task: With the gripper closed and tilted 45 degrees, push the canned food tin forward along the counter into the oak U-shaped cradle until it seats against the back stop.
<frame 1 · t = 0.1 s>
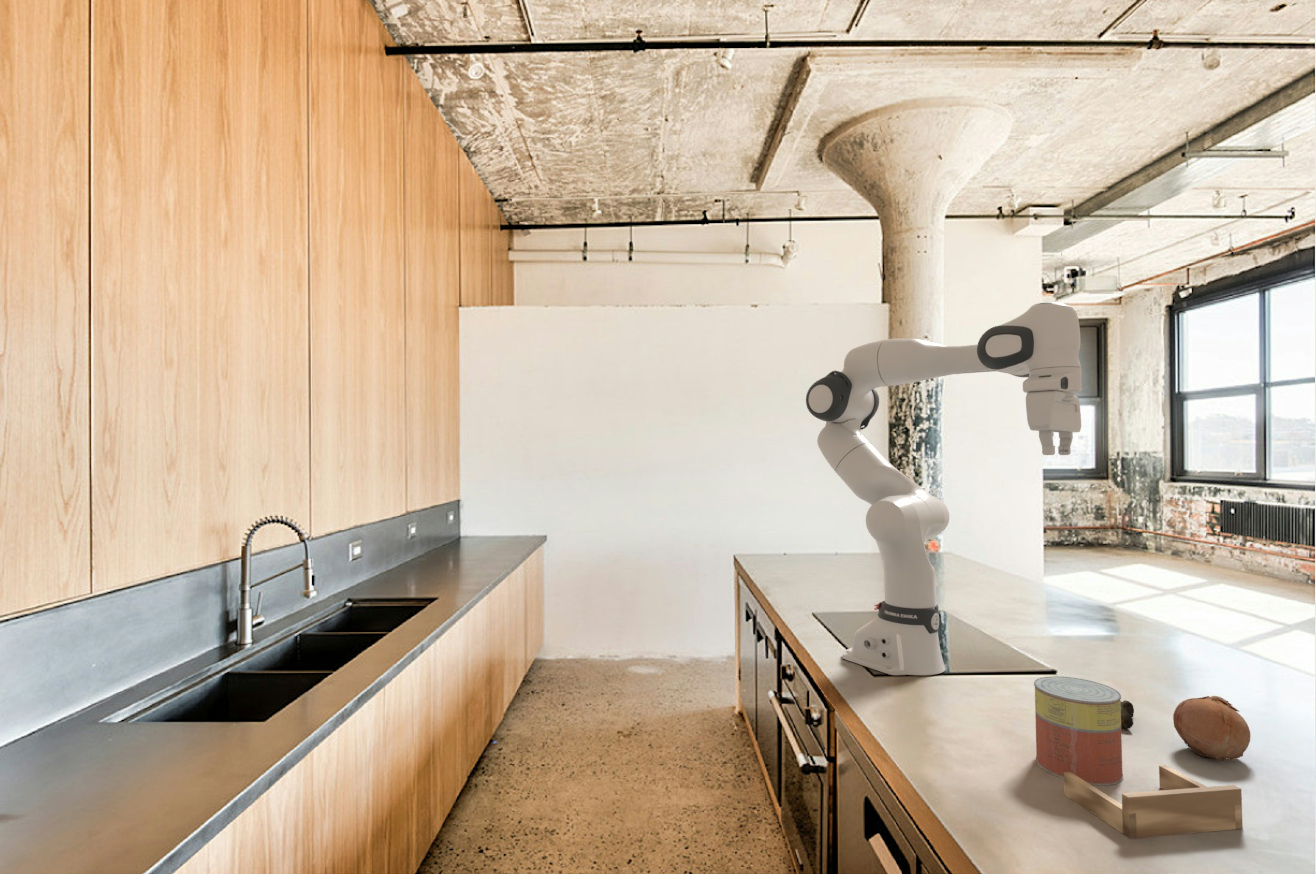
hand: (1056, 455, 129), 48 cm above the countertop, tool pointing down, fingers open, 8 cm apart
canned food: (1078, 769, 101), on the countertop
claw: (1089, 712, 125), on the countertop
cradle: (1133, 801, 91), on the countertop
onion: (1211, 756, 105), on the countertop
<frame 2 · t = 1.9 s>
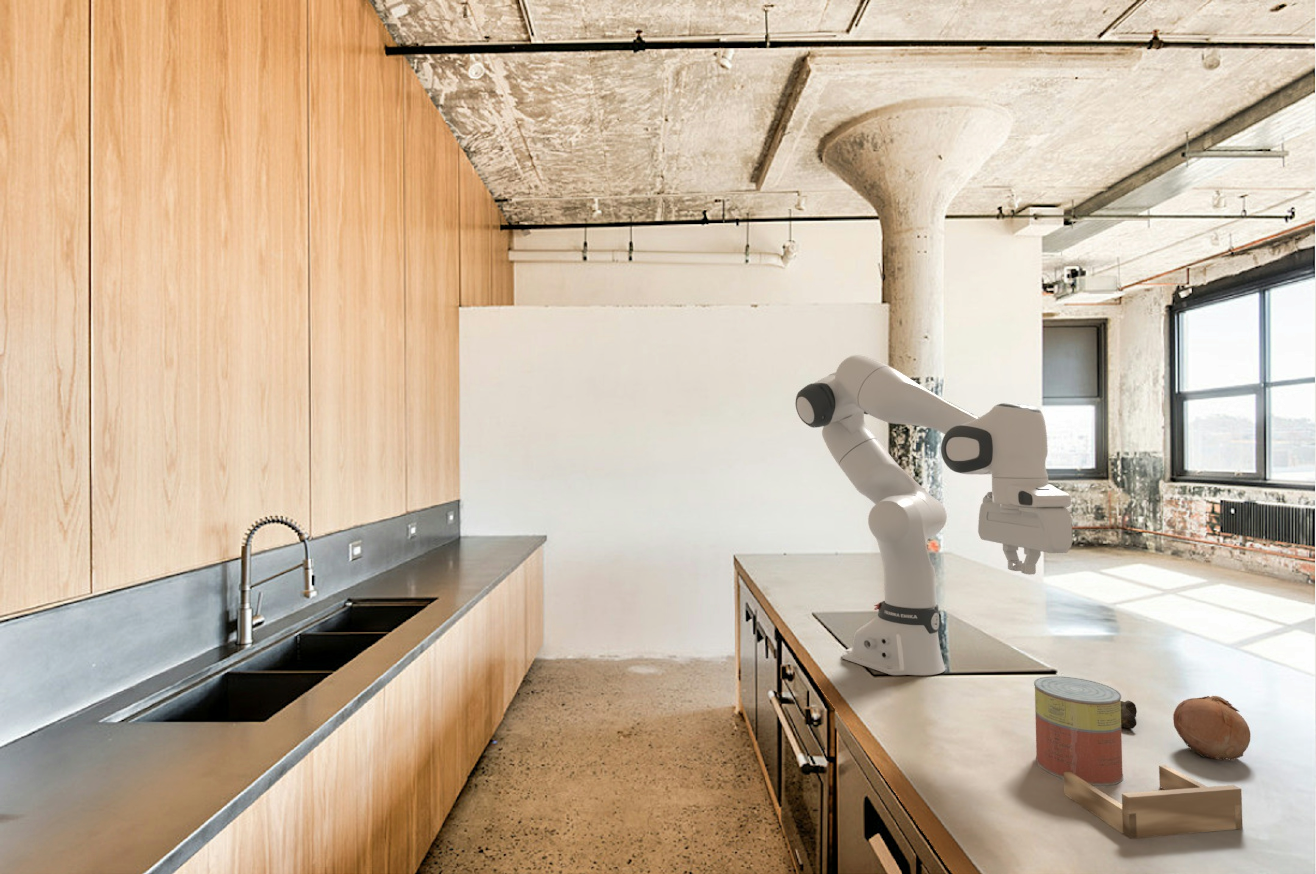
hand: (1021, 572, 117), 27 cm above the countertop, tool pointing down, fingers closed
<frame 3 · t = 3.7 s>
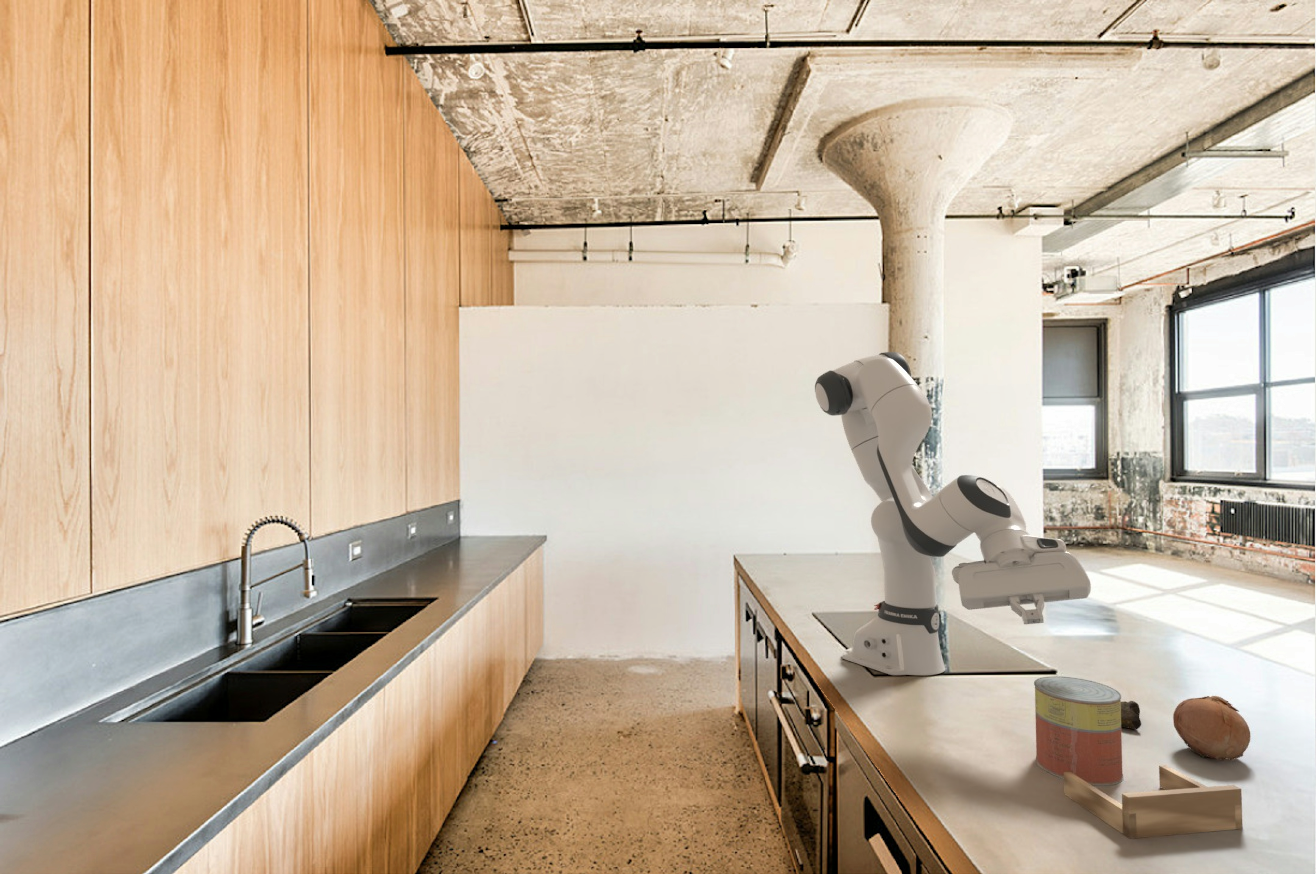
hand: (1033, 621, 109), 20 cm above the countertop, tool tilted 50°, fingers closed
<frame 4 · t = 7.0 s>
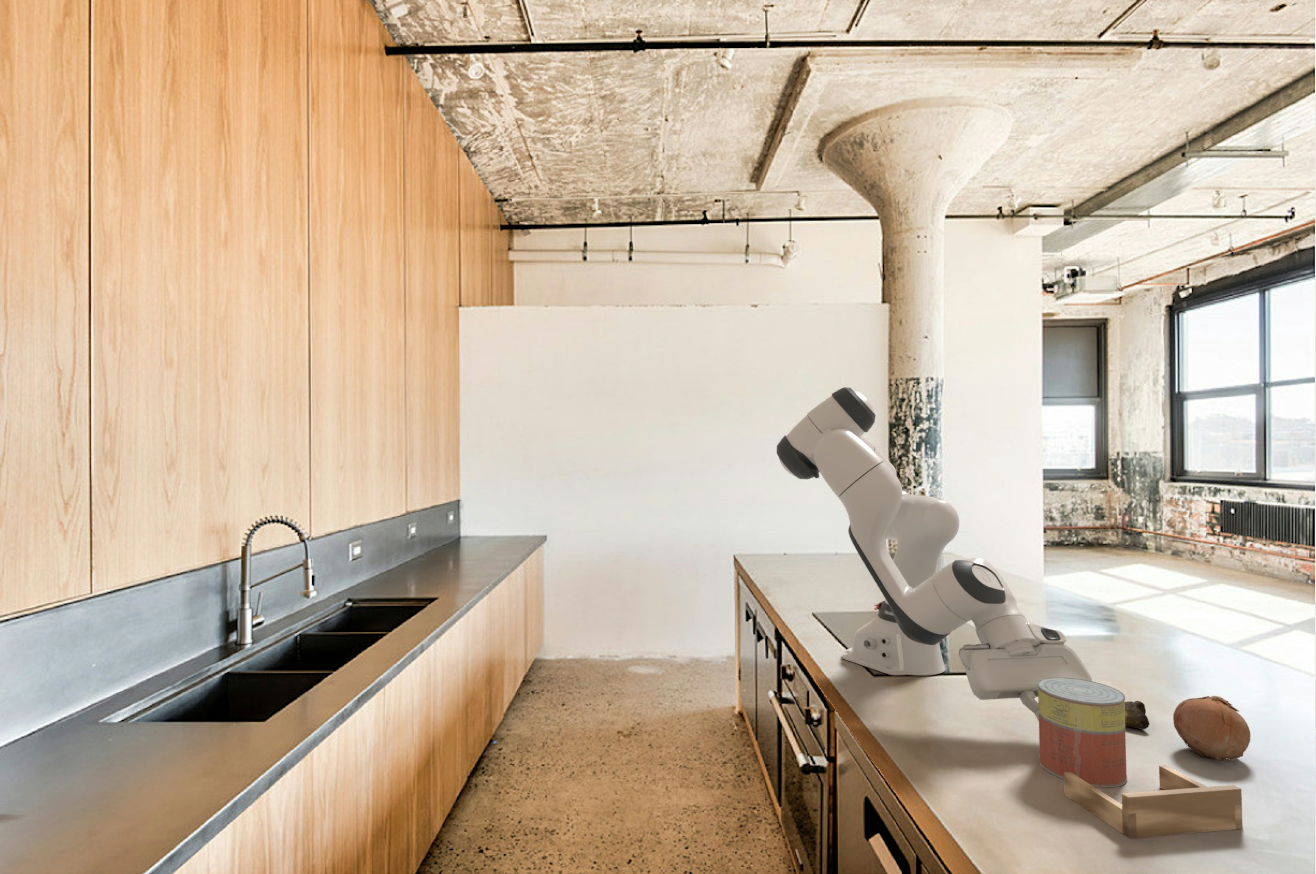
hand: (1050, 721, 107), 5 cm above the countertop, tool tilted 45°, fingers closed, pressing on canned food
canned food: (1081, 770, 100), on the countertop, touching gripper
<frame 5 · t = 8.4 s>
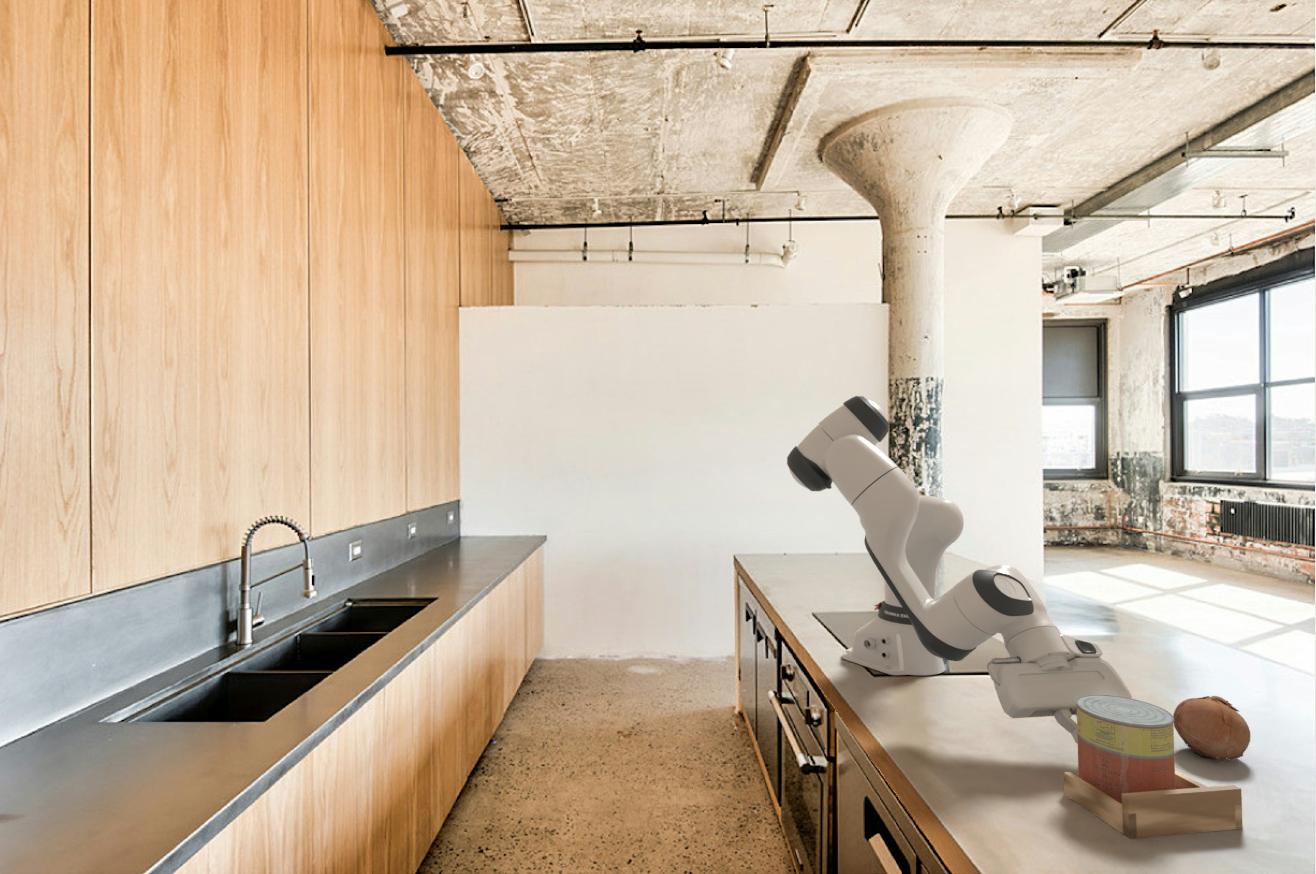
hand: (1088, 741, 99), 5 cm above the countertop, tool tilted 45°, fingers closed, pressing on canned food
canned food: (1125, 797, 92), on the countertop, touching gripper
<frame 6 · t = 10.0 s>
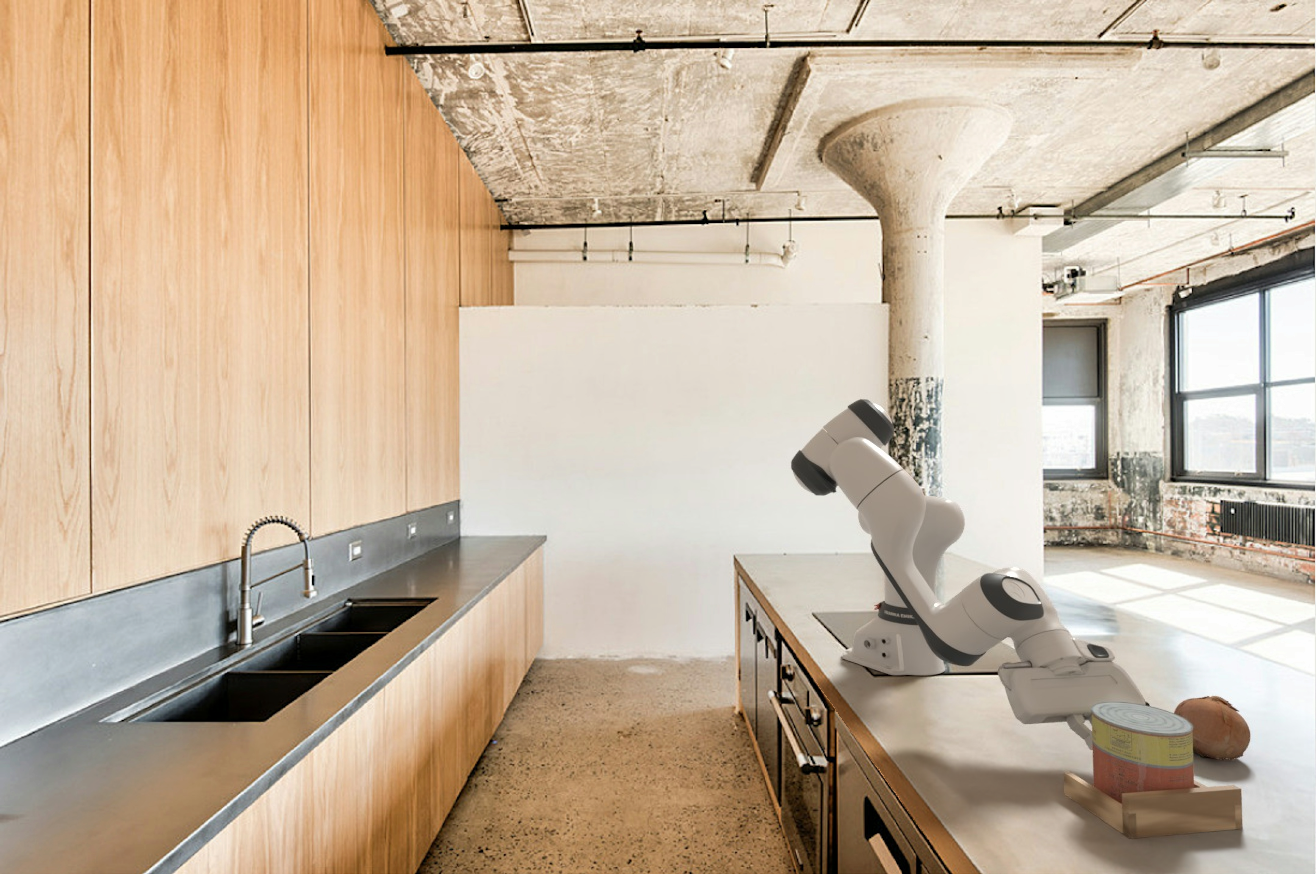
hand: (1102, 748, 97), 5 cm above the countertop, tool tilted 45°, fingers closed
canned food: (1142, 807, 90), on the countertop
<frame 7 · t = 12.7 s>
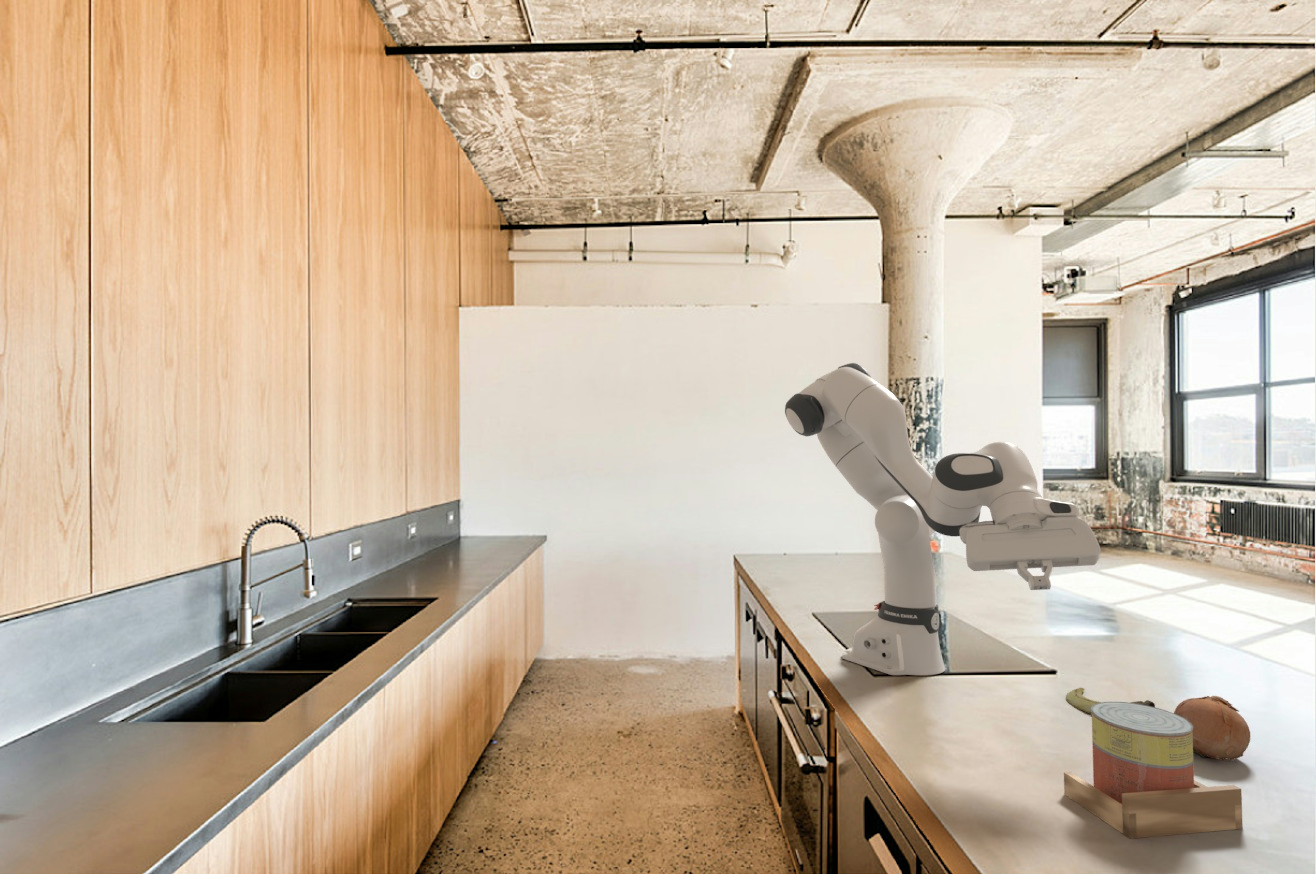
hand: (1040, 588, 109), 26 cm above the countertop, tool tilted 40°, fingers closed
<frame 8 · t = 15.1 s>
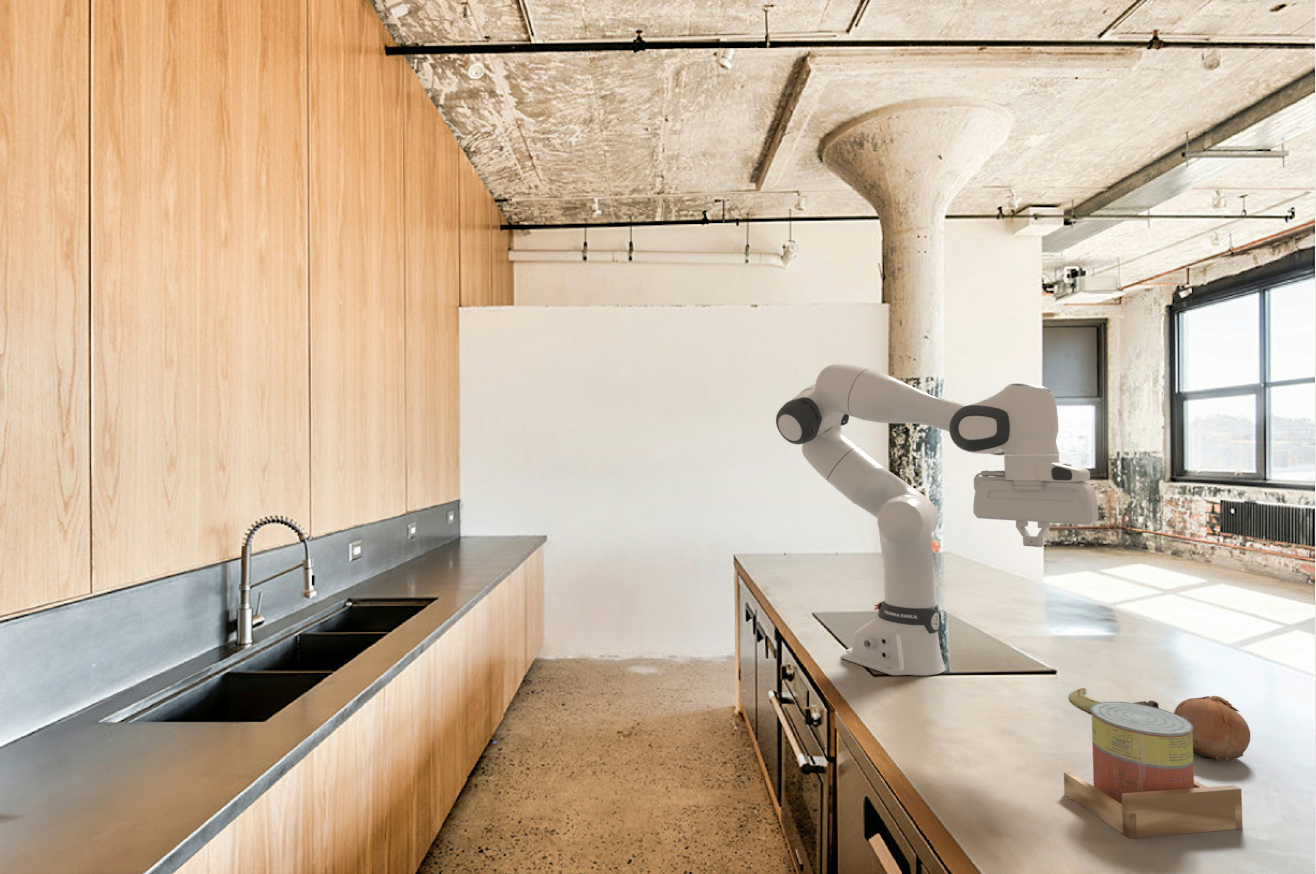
hand: (1033, 546, 121), 31 cm above the countertop, tool pointing down, fingers closed
at the end: canned food 1.3 cm from the cradle (horizontally); canned food tilted 0°; the gripper is holding nothing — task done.
